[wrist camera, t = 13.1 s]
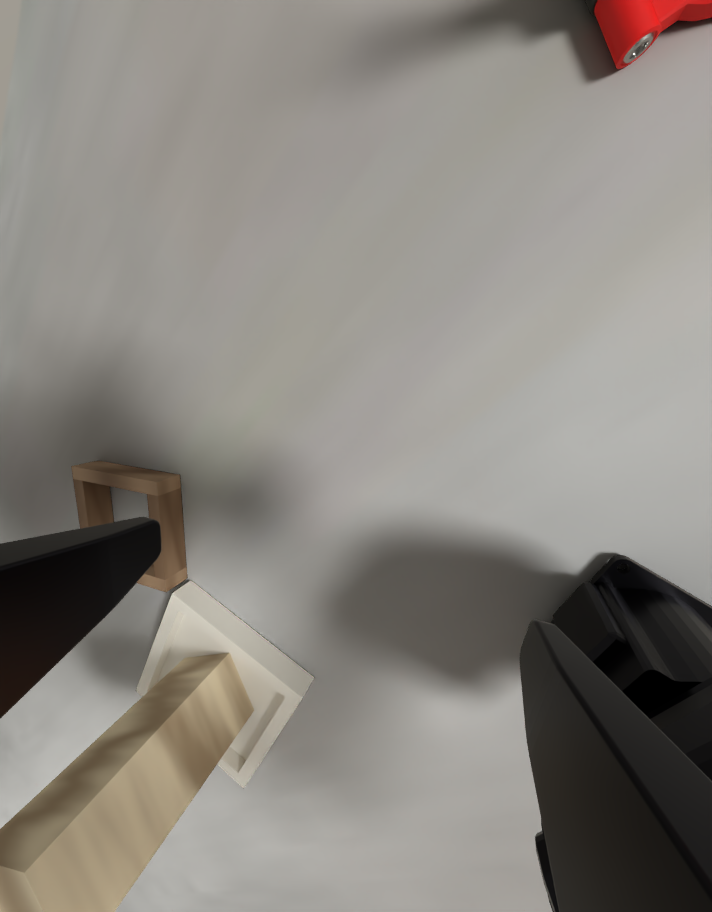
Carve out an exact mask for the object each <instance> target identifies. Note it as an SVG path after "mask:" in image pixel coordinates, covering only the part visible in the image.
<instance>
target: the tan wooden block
mask: <svg viewBox="0 0 712 912" xmlns="http://www.w3.org/2000/svg"><path fill="white" fill-rule="evenodd" d="M253 712H254V708H253V706H252V704H251V701H250V699H249V697H248V694H247V692H246V690H245V687H244V685H243V683H242V680H241V678H240V676H239V673H238V671H237V669H236V666H235V664H234V662H233V659H232V657H231V655H230V653H222V654H214V655H205V656H197V657H189V658H184V659H183V660H182V661H181V662H180V663H179V664H177V665H176V666H175V667H174V668H173V669H172V670H171V671H170V672H169V673H168V674H167V675H166V676H165V677H163V678H162V679H161V680H160V681H159V682H158V683H157V684H156V685H155V686H154V687H153V688H152V689H151V690H149V691H148V692H147V693H146V694H145V695H144V696H143V697H142V698H141V699H140V700H139V701H138V702H137V703H135V704H134V705H133V706H132V707H131V708H130V709H129V710H128V711H127V712H126V713H125V714H124V715H123V716H122V717H120V718H119V719H118V720H117V721H116V722H115V723H114V724H113V725H112V726H111V727H110V728H109V729H108V730H106V731H105V732H104V733H103V734H102V735H101V736H100V737H99V738H98V739H97V740H96V741H95V742H94V743H92V744H91V745H90V746H89V747H88V748H87V749H86V750H85V751H84V752H83V753H82V754H81V755H80V756H78V757H77V758H76V759H75V760H74V761H73V762H72V763H71V764H70V765H69V766H68V767H67V768H66V769H65V770H63V771H62V772H61V773H60V774H59V775H58V776H57V777H56V778H55V779H54V780H53V781H52V782H51V783H49V784H48V785H47V786H46V787H45V788H44V789H43V790H42V791H41V792H40V793H39V794H38V795H37V796H35V797H34V798H33V799H32V800H31V801H30V802H29V803H28V804H27V805H26V806H25V807H24V808H23V809H21V810H20V811H19V812H18V813H17V814H16V815H15V816H14V817H13V818H12V819H11V820H10V821H9V822H8V823H6V824H5V825H4V826H3V827H2V828H1V829H0V912H115V910H116V909H117V907H118V906H119V904H120V903H121V902H122V900H123V899H124V897H125V896H126V894H127V893H128V892H129V890H130V889H131V887H132V886H133V884H134V883H135V881H136V880H137V879H138V877H139V876H140V874H141V873H142V871H143V870H144V869H145V867H146V866H147V864H148V863H149V861H150V860H151V858H152V857H153V856H154V854H155V853H156V851H157V850H158V848H159V847H160V845H161V844H162V843H163V841H164V840H165V838H166V837H167V835H168V834H169V833H170V831H171V830H172V828H173V827H174V825H175V824H176V822H177V821H178V820H179V818H180V817H181V815H182V814H183V812H184V811H185V810H186V808H187V807H188V805H189V804H190V802H191V801H192V799H193V798H194V797H195V795H196V794H197V792H198V791H199V789H200V788H201V786H202V785H203V784H204V782H205V781H206V779H207V778H208V776H209V775H210V774H211V772H212V771H213V769H214V768H215V766H216V765H217V763H218V762H219V761H220V759H221V758H222V756H223V755H224V753H225V752H226V751H227V749H228V748H229V746H230V745H231V743H232V742H233V740H234V739H235V738H236V736H237V735H238V733H239V732H240V730H241V729H242V727H243V726H244V725H245V723H246V722H247V720H248V719H249V717H250V716H251V715H252V713H253Z"/></svg>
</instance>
